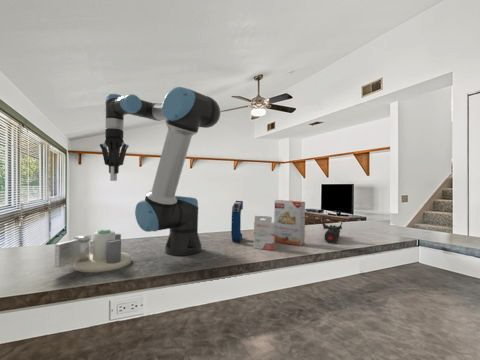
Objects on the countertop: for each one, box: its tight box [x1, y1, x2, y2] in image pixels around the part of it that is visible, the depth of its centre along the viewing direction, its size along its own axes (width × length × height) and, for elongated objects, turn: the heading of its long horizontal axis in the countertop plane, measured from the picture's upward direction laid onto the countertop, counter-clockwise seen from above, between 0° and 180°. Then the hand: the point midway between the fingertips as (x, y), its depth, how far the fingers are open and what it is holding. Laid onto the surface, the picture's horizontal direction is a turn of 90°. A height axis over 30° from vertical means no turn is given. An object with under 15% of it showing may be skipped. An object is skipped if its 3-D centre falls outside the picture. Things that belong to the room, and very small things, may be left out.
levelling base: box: [73, 229, 132, 273], centre depth 96 cm, size 18×18×12 cm
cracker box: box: [273, 199, 306, 247], centre depth 134 cm, size 14×6×21 cm, turn 55°
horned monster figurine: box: [321, 220, 343, 244], centre depth 144 cm, size 10×22×10 cm, turn 155°
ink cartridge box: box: [253, 215, 275, 251], centre depth 123 cm, size 9×5×15 cm, turn 68°
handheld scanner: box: [230, 200, 244, 243], centre depth 139 cm, size 5×16×20 cm, turn 174°
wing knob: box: [54, 234, 93, 268], centre depth 90 cm, size 13×5×8 cm, turn 167°
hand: (113, 180), depth 125 cm, fingers closed
